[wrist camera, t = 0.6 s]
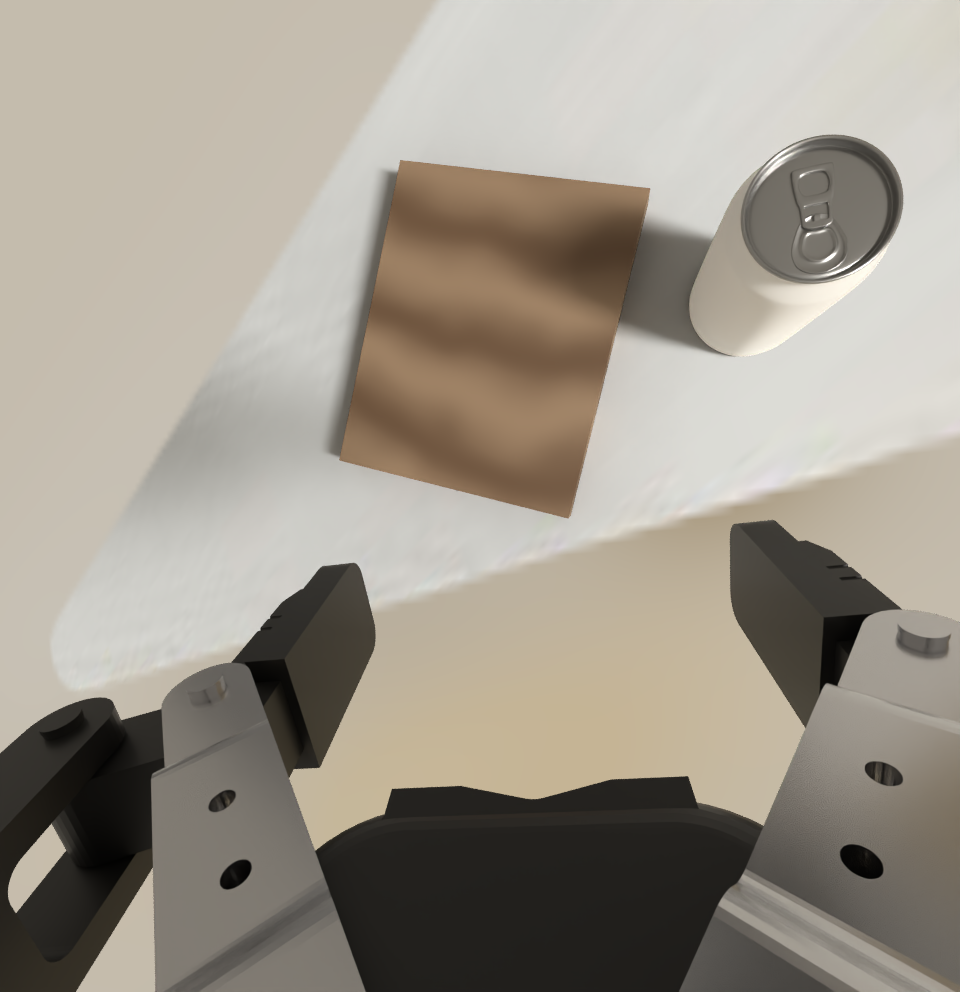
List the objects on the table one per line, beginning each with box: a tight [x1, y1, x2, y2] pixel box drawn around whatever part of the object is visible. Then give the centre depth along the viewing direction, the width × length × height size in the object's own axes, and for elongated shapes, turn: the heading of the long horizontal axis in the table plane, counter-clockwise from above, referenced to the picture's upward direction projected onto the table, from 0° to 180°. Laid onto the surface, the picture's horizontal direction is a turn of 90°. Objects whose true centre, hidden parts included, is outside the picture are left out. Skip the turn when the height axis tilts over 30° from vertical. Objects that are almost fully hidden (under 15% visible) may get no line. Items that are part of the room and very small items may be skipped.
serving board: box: [339, 160, 650, 518], centre depth 35 cm, size 20×16×2 cm
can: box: [689, 135, 903, 357], centre depth 27 cm, size 6×6×12 cm
